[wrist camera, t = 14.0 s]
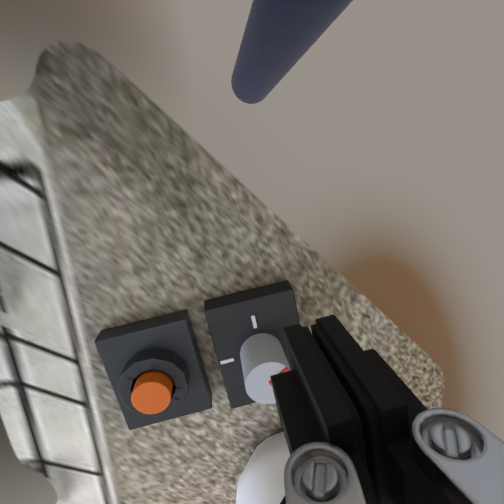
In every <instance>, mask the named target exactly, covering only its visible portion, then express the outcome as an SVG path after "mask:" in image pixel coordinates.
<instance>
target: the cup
mask: <svg viewBox="0 0 504 504" xmlns="http://www.w3.org/2000/svg"><path fill="white" fill-rule="evenodd" d="M289 457H290V453H289V449H288V446H287V442H286V439H285V435H284V432H280V433H277V434H275V435H272V436H269V437H268V438H266V439H265V440H264V441H263V442H261V443H260V444H259V445H257V447H256V449H255V450H254V452H253V454H252V455H251V457H250V459H249V461H248V463H247V465H246V466H245V468H244V470H243V472H242V474H241V476H240V478H239V480H238V486H237V496H236V504H280V503H281V501H282V499H283V498H284V496H285V486H284V469H285V465H286V463H287V460H288V458H289Z"/></svg>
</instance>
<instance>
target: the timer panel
mask: <svg viewBox="0 0 504 504" xmlns="http://www.w3.org/2000/svg"><path fill="white" fill-rule="evenodd" d="M205 315H206V319H207V322H208V326H209V330H210V333H211V337H212V340H213V344H214V348H215V351H216V355H217V359H218V362H219V366H220V369H221V373H222V377H223V380H224V384H225V387H226V391H227V395H228V398H229V402H230V406H231V408H236V407H240V406H244V405H247V404H251V403H255V402H256V401H254V400H252V399H251V398H250V397H249V395H248V394H247V392H246V388H245V382H244V376H243V370H242V364H241V358H240V350H241V347H242V345H243V343H244V342H245V341H246V340H247V339H248V338H249V337H251V336H253V335H255V334H259V333H267V334H270V335H273V336H274V337H276V338H277V339H278V340H279V342H280V343H281V346H282V348H283V351H284V353H285V356H286V358H287V361H288V356H287V351H286V346H285V341H284V336H283V331H282V328H283V327H287V326H291V325H295V324H299V319H298V313H297V308H296V302H295V297H294V291H293V288H292V287H291V285H290V284H289V282H288V281H284V282H280V283H275V284H271V285H267V286H263V287H259V288H255V289H251V290H247V291H243V292H239V293H235V294H231V295H226V296H222V297H218V298H214V299H210V300H206V301H205ZM288 363H289V361H288Z"/></svg>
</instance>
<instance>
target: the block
mask: <svg viewBox="0 0 504 504" xmlns="http://www.w3.org/2000/svg"><path fill="white" fill-rule="evenodd" d="M94 343H95V346H96V348H97V351H98V353H99V356H100V358H101V361H102V363H103V366H104V368H105V371H106V373H107V376H108V378H109V381H110V383H111V386H112V388H113V391H114V393H115V396H116V398H117V401H118V403H119V406H120V408H121V411H122V413H123V415H124V418H125V420H126V423H127V425H128V428H129V430H132V429H135V428H139V427H143V426H147V425H150V424H154V423H158V422H162V421H165V420H169V419H173V418H176V417H180V416H184V415H188V414H191V413H195V412H199V411H203V410H206V409H210V408H212V393H211V390H210V387H209V383H208V380H207V376H206V373H205V370H204V366H203V363H202V359H201V356H200V353H199V349H198V346H197V342H196V339H195V336H194V332H193V329H192V325H191V322H190V318H189V315H188V312H187V310H184V311H180V312H176V313H171V314H167V315H163V316H159V317H155V318H151V319H147V320H143V321H139V322H135V323H131V324H127V325H123V326H119V327H114V328H110V329H106V330H102V331H101V332H100V333H99V335H98V336H97V338H96V340H95V341H94ZM148 371H161V372H163V373H165V374H167V375H168V376H169V377H170V379H171V380H172V383H173V389H172V395H171V401H170V404H169V405H168V407H167V408H166V409H165V410H163V411H162V412H160V413H157V414H144V413H141V412H139V411H138V410H137V409H135V407H134V406H133V404H132V401H131V395H132V392H133V389H134V386H135V383H136V380H137V379H138V377H139V376H141V375H142V374H143V373H145V372H148Z"/></svg>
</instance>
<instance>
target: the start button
mask: <svg viewBox="0 0 504 504" xmlns="http://www.w3.org/2000/svg"><path fill="white" fill-rule="evenodd" d="M172 389H173V383H172V380H171V379H170V377H169V376H168V375H167V374H165V373H163V372H161V371H148V372H145V373H143V374H142V375H141V376H139V377H138V379H137V380H136V383H135V386H134V389H133V392H132V395H131V401H132V404H133V406H134V407H135V409H137V410H138V411H139V412H141V413H144V414H157V413H160V412H162V411H163V410H165V409H166V408H167V407H168V405H169V404H170V401H171V395H172Z"/></svg>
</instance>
